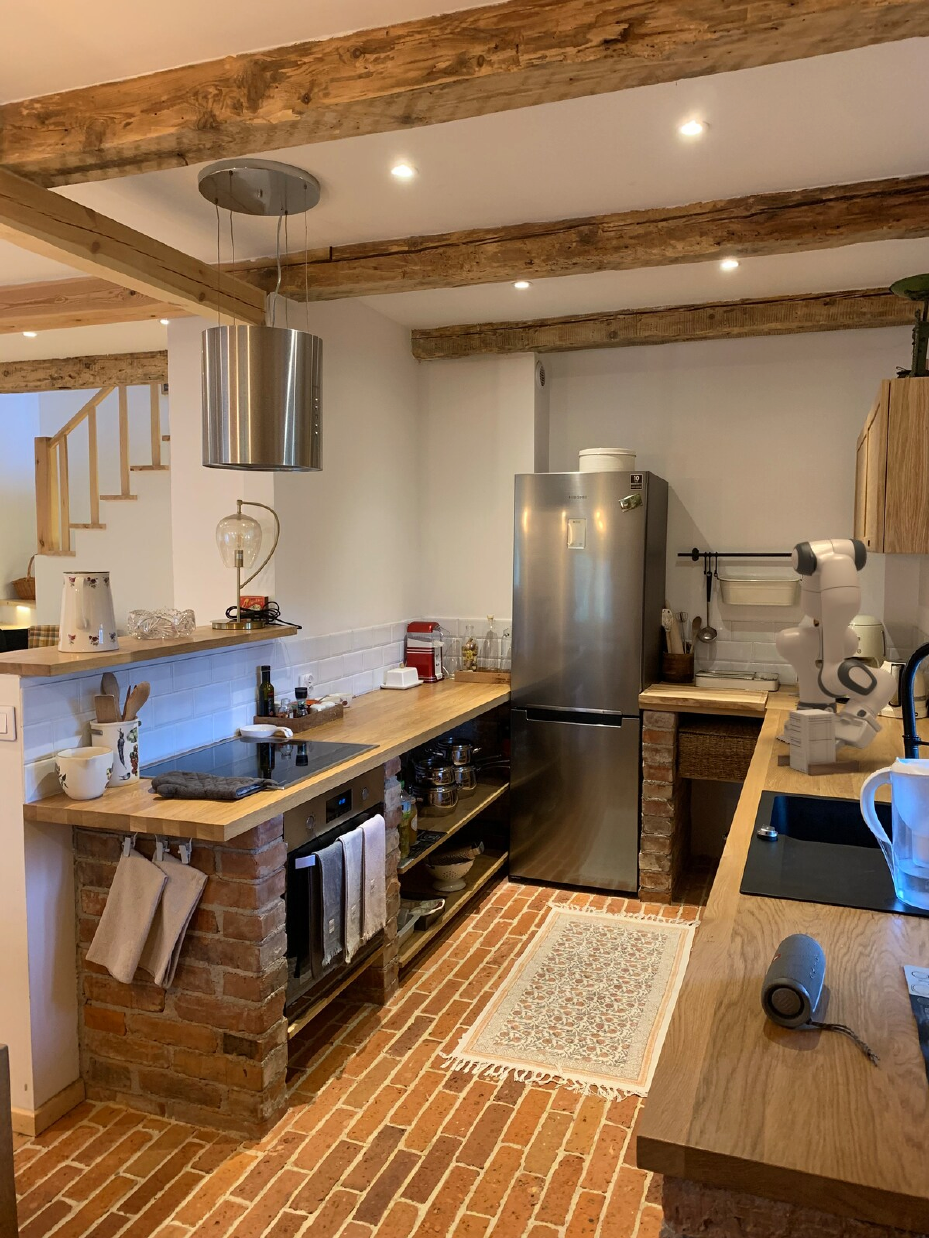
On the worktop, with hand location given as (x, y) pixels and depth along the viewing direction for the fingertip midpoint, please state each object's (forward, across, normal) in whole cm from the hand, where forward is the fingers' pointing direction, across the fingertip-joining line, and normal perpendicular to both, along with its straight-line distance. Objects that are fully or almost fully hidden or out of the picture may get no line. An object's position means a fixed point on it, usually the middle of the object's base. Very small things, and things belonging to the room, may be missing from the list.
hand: (827, 752), depth 260 cm
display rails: (+5, 0, +1) cm, 5 cm away
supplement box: (+7, +1, -1) cm, 7 cm away
